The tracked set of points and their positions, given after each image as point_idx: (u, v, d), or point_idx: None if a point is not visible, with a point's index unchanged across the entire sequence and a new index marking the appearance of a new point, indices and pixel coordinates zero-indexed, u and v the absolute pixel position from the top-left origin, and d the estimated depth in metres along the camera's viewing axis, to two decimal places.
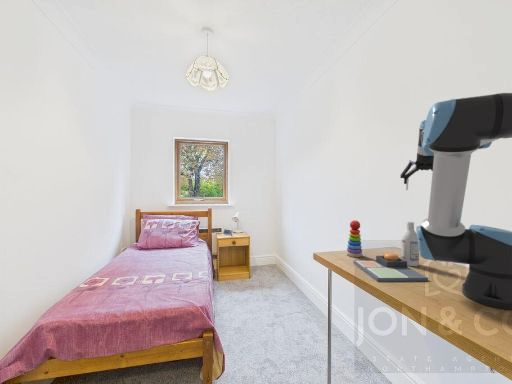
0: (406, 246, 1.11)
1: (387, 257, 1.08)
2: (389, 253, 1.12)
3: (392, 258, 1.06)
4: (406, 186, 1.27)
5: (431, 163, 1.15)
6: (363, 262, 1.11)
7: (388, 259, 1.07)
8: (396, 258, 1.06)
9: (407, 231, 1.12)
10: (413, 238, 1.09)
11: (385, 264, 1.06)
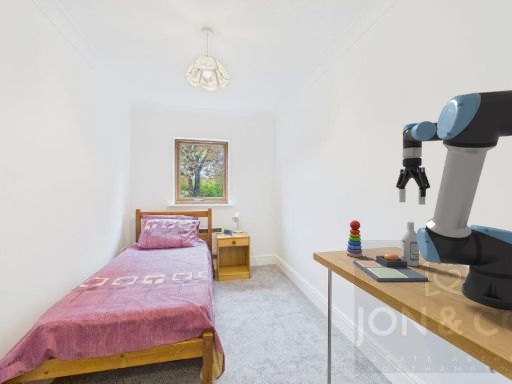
0: (406, 246, 1.11)
1: (387, 257, 1.08)
2: (389, 253, 1.12)
3: (392, 258, 1.06)
4: (399, 197, 1.19)
5: (412, 169, 1.10)
6: (363, 262, 1.11)
7: (388, 259, 1.07)
8: (396, 258, 1.06)
9: (407, 231, 1.12)
10: (413, 238, 1.09)
11: (385, 264, 1.06)
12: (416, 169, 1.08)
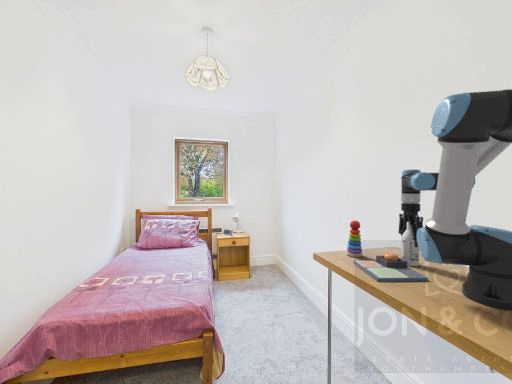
0: (406, 246, 1.11)
1: (387, 257, 1.08)
2: (389, 253, 1.12)
3: (392, 258, 1.06)
4: None
5: (411, 215, 1.10)
6: (363, 262, 1.11)
7: (388, 259, 1.07)
8: (396, 258, 1.06)
9: (407, 231, 1.12)
10: None
11: (385, 264, 1.06)
12: (415, 216, 1.08)
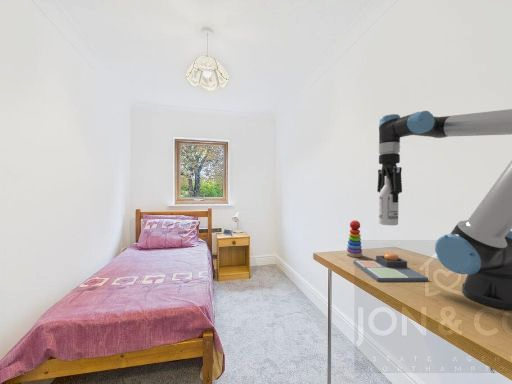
0: (383, 203, 0.97)
1: (387, 257, 1.08)
2: (389, 253, 1.12)
3: (392, 258, 1.06)
4: None
5: (389, 166, 0.96)
6: (363, 262, 1.11)
7: (388, 259, 1.07)
8: (396, 258, 1.06)
9: (385, 186, 0.98)
10: None
11: (385, 264, 1.06)
12: (392, 167, 0.94)
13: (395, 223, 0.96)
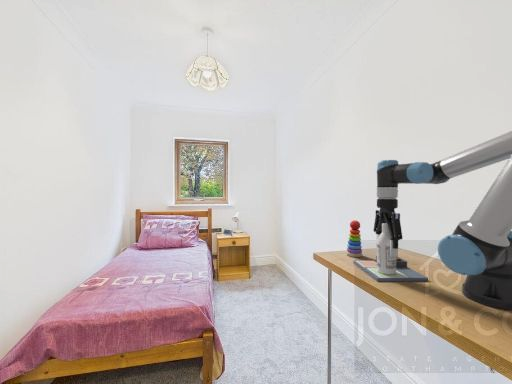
0: (381, 251, 0.97)
1: None
2: None
3: None
4: None
5: (387, 212, 0.96)
6: (363, 262, 1.11)
7: None
8: (396, 258, 1.06)
9: (382, 234, 0.97)
10: (388, 243, 0.95)
11: None
12: (391, 213, 0.94)
13: (393, 272, 0.95)
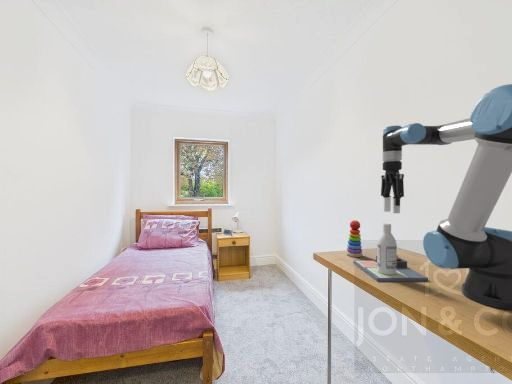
0: (381, 251, 0.97)
1: None
2: None
3: None
4: None
5: (392, 173, 1.06)
6: (363, 262, 1.11)
7: None
8: (396, 258, 1.06)
9: (383, 234, 0.97)
10: (389, 243, 0.95)
11: None
12: (395, 174, 1.04)
13: (393, 273, 0.95)
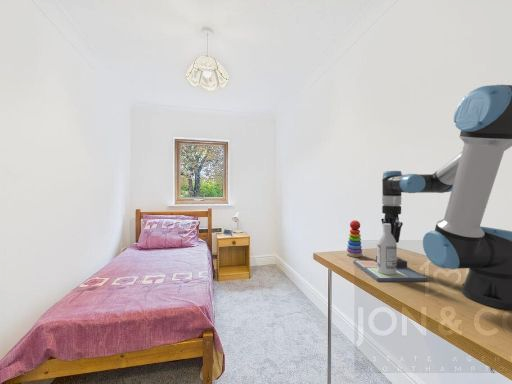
0: (381, 251, 0.97)
1: None
2: None
3: None
4: None
5: (392, 217, 1.06)
6: (363, 262, 1.11)
7: None
8: (396, 260, 1.06)
9: (383, 234, 0.97)
10: (389, 243, 0.95)
11: None
12: (395, 220, 1.05)
13: (393, 273, 0.95)
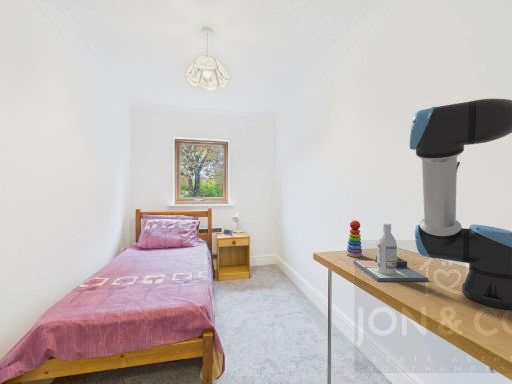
0: (381, 251, 0.97)
1: None
2: None
3: None
4: None
5: None
6: (363, 262, 1.11)
7: None
8: None
9: (383, 234, 0.97)
10: (389, 243, 0.95)
11: None
12: None
13: (393, 273, 0.95)
